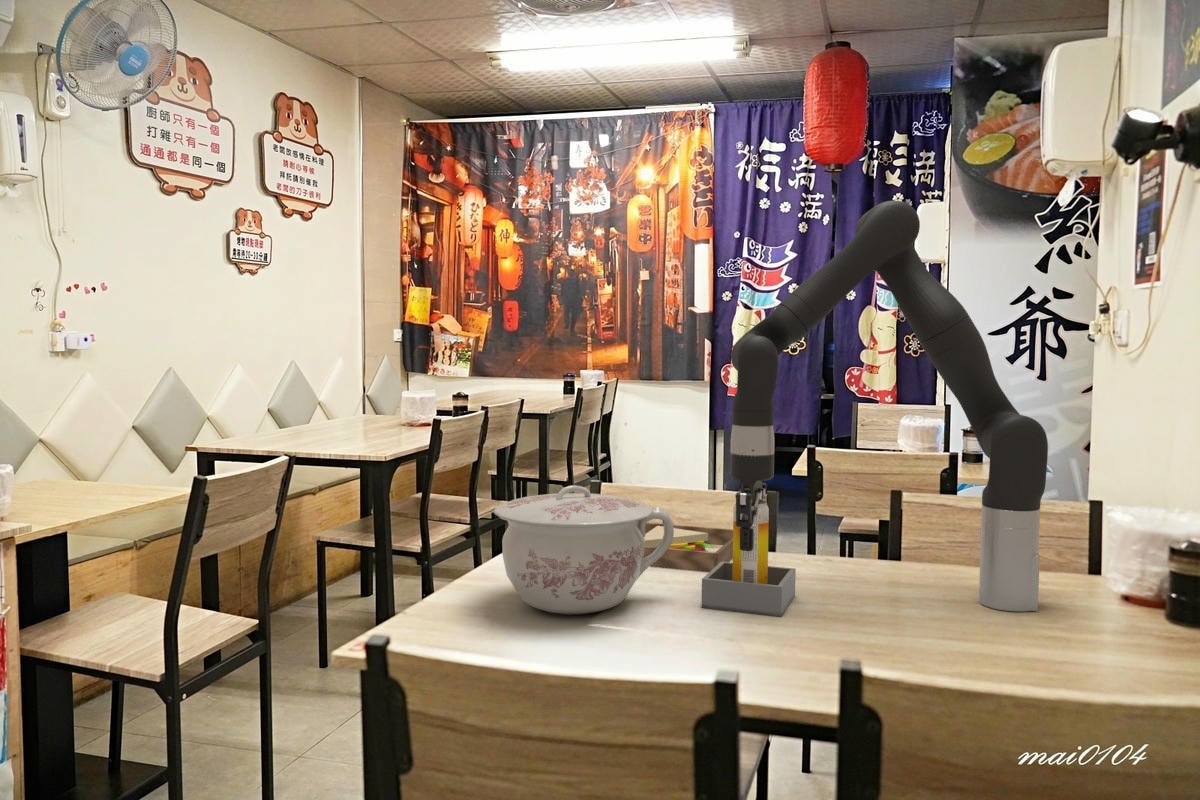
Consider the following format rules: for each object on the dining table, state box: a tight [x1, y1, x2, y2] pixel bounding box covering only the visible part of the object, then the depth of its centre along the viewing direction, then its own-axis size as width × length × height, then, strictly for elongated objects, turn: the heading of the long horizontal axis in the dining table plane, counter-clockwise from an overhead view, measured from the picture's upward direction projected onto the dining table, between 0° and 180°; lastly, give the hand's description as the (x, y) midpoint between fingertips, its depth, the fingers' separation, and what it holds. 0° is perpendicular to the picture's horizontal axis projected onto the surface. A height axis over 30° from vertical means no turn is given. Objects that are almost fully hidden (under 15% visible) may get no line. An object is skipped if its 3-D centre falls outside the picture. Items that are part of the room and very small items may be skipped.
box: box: [701, 561, 797, 618], centre depth 162 cm, size 14×14×5 cm
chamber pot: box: [493, 484, 674, 616], centre depth 159 cm, size 28×28×21 cm
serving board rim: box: [643, 522, 733, 573], centre depth 197 cm, size 24×24×4 cm
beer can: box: [732, 501, 770, 584], centre depth 161 cm, size 6×6×15 cm
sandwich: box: [644, 526, 715, 552], centre depth 197 cm, size 15×20×5 cm
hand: (750, 546), depth 161 cm, fingers closed on beer can, 6 cm apart
